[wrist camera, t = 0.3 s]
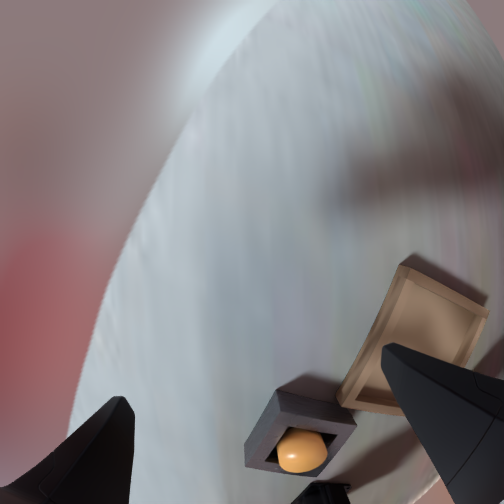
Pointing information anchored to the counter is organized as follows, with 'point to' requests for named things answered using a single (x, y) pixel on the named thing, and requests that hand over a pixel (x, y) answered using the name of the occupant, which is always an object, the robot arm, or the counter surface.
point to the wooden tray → (411, 336)
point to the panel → (300, 416)
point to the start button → (301, 450)
